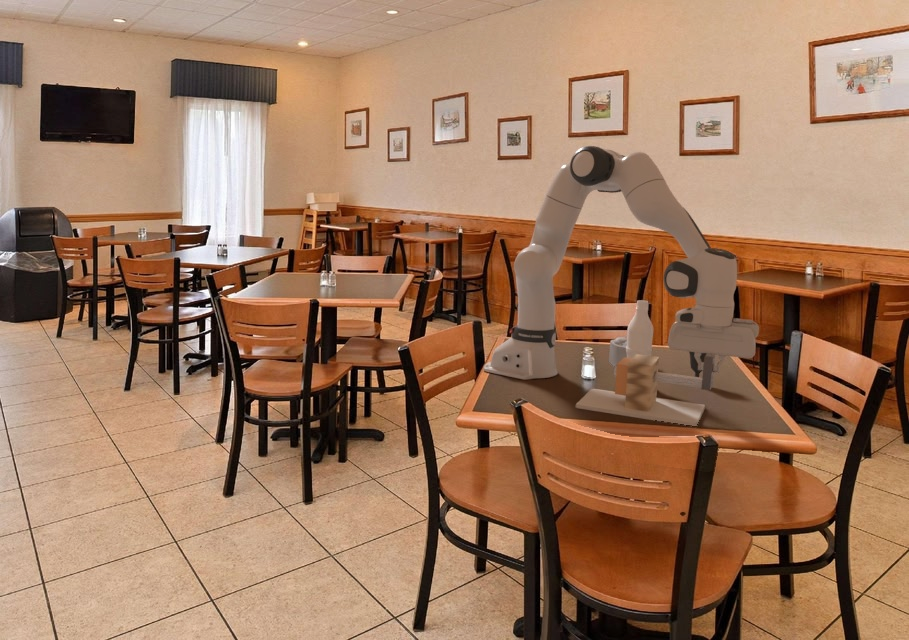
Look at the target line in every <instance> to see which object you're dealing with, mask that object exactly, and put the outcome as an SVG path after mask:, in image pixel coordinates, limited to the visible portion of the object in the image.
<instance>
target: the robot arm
mask: <svg viewBox="0 0 909 640" xmlns="http://www.w3.org/2000/svg"><path fill="white" fill-rule="evenodd" d="M593 191H597V192H599V193H609V194H612V193H615V194H616V193H620V192H621V193H622V195H623V196H624V200H625V202H626V204H627V206H628V208H629V210H630V212H631V214H632V215H633V216H634V217H635V219H636V220H637V221H639V222H640V223H642V224H643V225H647V226H650V227H652V228H656V229H659V230H661V231H663V232H666V233H668V234H669V235H671V236H672V237H673V238H674V239H675V240H676V241H677V243H678V244H679V246H680V247H681V249H682V251H683V252H684V254H685V256H686V257H687V258H682V259H677V260H674V261H671V262H670V263H669V264H667V266H666V268H665V270H664V273H663V286H664V288H665V290H666V291H667V293H668V294H669V295H671V297H675V298H679V299H685V298H694V299H695V306H692V307H688V308H682V309H679V310H678V311H676V313H675V316H674V319H675V322H673V324H672V325H671V327H670V329H669V332H668V333H669V334H668V339H667V346H668V348H669V349H670V350H674V351H681V352H688V353H689V352H695V354H694V357H695V359H696V361H697V363H698V370H702V372H703V366H704V362H702V361H701V359H700V356H701V353H706V354H715V356H716V355H717V356H718V360H719V361H718V363H714V365H713V373H717V374H718V373H720V370H721V369H720V368H721V365H722V364H723V363H724V361H725V360H726V357H732V358H742V359H752V358H753V357H754V356H755V354H756V339H757V337H758V336H759V333H760V326H759V324H758V323H757V322H756V321H754V320H753V319H748V318H747V319H745V318H744V319H743V318H737V317H734V310H735V301H734V294H735V291H736V289H737V282H738V281H737V280H738V263H737V257H736V256H735V254H733V252H732V251H731V252H730V251H729V250H725V249H721V248H717V247H716V248H715V247H711V246H710V244H709V242H708V241H707V239H706V237H705V236H704V235H703V233H702V230H700V228H699V226H698V225H697V223H696V222H695V220H694V219H693V218H692V216H691V214H690V213H689V212H688V211H687V210H686V208H685V207H683V205H682V204H681V203H680V202H679V201H678V199H677V198H676V196H675V195H674V194H673V192H672V190H671V189H670V187H669V185H668V184H667V181H666V179H665V178H664V176H663V174H662V172H661V171H660V169H659V168H658V166H657V165H656V163H655V162H654V161H653V159H652V158H651V157H650V156H649V154H647V153H645V152H641V151H636V152H631V153H629V154H627V155H623V154H620V153H618V152H616V151H614V150H611V149H605V148H601V147H599V146H596V145H587V146H583V147H581V148H578V150H576V151H575V152H574V154H573V155H572V157H571V160H570V162H569V163H568V162H567V163H565V164H563V165H562V166H561V167H560V168H558V171H557V172H556V174H555V175H554V177H553V179H552V180H551V183H550V184H549V187H548V189H547V191H546V193H545V196H544V199H543V200H542V201H543V202H542V204H541V207H540V208H539V211H538V214H537V217H536V219H535V224H534V229H533V234H532V237H531V240H530V243H529V245H528V246H527V247H524V248H523V249H522V250H521V251H519V252H518V253H517V256H516V257H515V260H514V263H513V271H514V274H515V282H516V283H515V284H516V291H517V302H518V303H517V306H518V307H517V324H514V326H512V327H511V328H510V330H509V334H511V337H509V338H508V339H507V340H505V341H504V342H502V343H501V344H499V345H498V346H496V347H495V349H493V353H492V356H491V361H488V362H486V363H485V364H484V365H483V371H484V372H488V373H492V374H494V375H501V376H505V377H510V378H514V379H520V380H524V381H525V380H526V381H527V380H533V379H545V378H551V377H555V376H557V375H558V370H557V369H558V368H557V366H556V357H555V355H556V354H555V344H556V339H557V336H556V335H557V334H556V333H557V332H556V327H555V319H556V299H555V292H554V280H553V279H554V276H555V275H556V274H557V273H558V272H559V270H560V268H561V266H562V263H563V261H564V258H565V254H566V251H567V248H568V245H569V242H570V239H571V235H572V233H573V230H574V228H575V226H576V225H577V224H576V223H577V222H578V219H579V216H580V214H581V212H582V209H583V207H584V204H585V201H586V199H587V197H588V195H589V194H590V193H592V192H593Z"/></svg>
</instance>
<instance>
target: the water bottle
mask: <svg viewBox="0 0 909 640" xmlns="http://www.w3.org/2000/svg"><path fill="white" fill-rule="evenodd" d="M648 311H649V301H648V300H643V299H641V300H640V299H639V300H636V307H635V313H634V315H633V317H632V318H631V320H630V322H629V323H628V326H627V330H626V331H627V336H626V337H627V346H626V353H627V358H633V357H634V356H635V355H636V354H639V355H647V356H652V353H653V338H654V326H653V323H652V321H651V318H650V317H649V314H648V313H649V312H648Z"/></svg>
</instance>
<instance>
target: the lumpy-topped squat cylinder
mask: <svg viewBox="0 0 909 640" xmlns="http://www.w3.org/2000/svg"><path fill="white" fill-rule="evenodd" d="M626 346H627V336H626V337H625V336H618V337H616V338H615V339H611V340H610V342H609V355H608V356H609V357H608V363H609V362H610V363H611V364H612V365H613V366H612V365H611V364H610V363H609V364H610V365H611V366H612V367H614V366H615V367H617V363H618V362H619V361H621V360H622V359H623V358H624V357H626V358H627V353H626ZM615 367H614V368H615Z"/></svg>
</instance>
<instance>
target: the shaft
mask: <svg viewBox="0 0 909 640" xmlns="http://www.w3.org/2000/svg"><path fill="white" fill-rule="evenodd" d="M715 359H716V355H715V354H706V356H705V357H704V366H703V371H702V377H701V376H699V377H695V376H692V375H691V376H690V375H683V374H678V373H677V374H676V373H669V372H661V371H658V372H654V381H656V382H658V383H663V384H664V383H665V384H672V385H679V386H686V387H693V388H694V387H695V388H700V389H701V390H704V391H711V389H712V386H713V382H714V380H713V379H714V372H713V365H714V364H715V361H716V360H715ZM616 369H617V367H614V368H613V376H614V377H616Z"/></svg>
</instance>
